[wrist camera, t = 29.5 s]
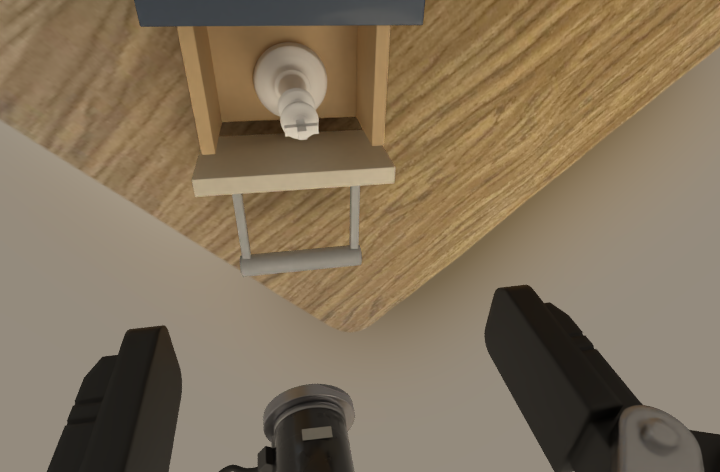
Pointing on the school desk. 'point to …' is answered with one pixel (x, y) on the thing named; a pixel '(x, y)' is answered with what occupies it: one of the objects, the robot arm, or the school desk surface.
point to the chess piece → (291, 87)
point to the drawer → (275, 151)
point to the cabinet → (279, 12)
